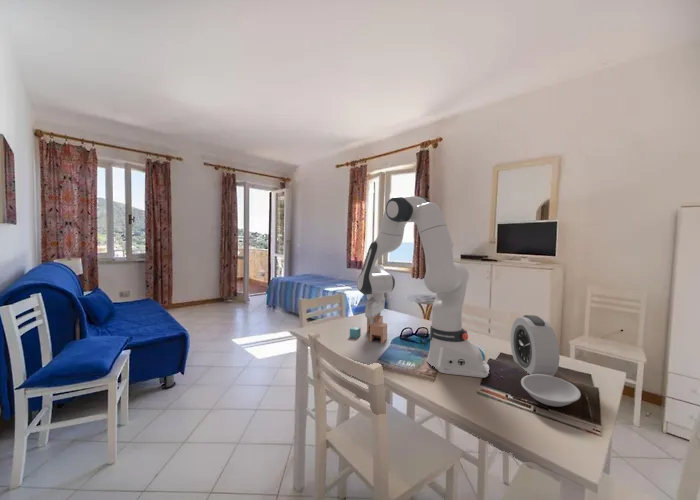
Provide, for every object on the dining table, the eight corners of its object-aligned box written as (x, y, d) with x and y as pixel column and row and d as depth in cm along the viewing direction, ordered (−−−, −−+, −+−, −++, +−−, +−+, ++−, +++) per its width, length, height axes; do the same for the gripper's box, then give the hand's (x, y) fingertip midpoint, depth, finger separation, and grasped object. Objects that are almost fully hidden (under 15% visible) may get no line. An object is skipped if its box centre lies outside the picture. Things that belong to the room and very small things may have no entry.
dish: (573, 427, 75) (574, 409, 74) (512, 404, 85) (513, 387, 85) (584, 401, 87) (585, 385, 87) (529, 383, 97) (530, 369, 97)
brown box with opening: (386, 338, 139) (387, 323, 139) (382, 343, 133) (383, 327, 133) (374, 336, 142) (374, 321, 141) (369, 341, 136) (369, 325, 136)
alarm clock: (509, 356, 120) (511, 308, 119) (529, 357, 119) (530, 309, 118) (535, 381, 99) (537, 324, 98) (558, 383, 98) (561, 325, 97)
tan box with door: (382, 330, 152) (382, 315, 152) (378, 333, 147) (378, 319, 146) (371, 328, 155) (371, 314, 155) (366, 331, 149) (367, 317, 149)
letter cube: (360, 335, 144) (360, 327, 143) (357, 338, 140) (357, 329, 140) (353, 334, 145) (353, 326, 145) (349, 336, 142) (349, 328, 141)
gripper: (374, 300, 139) (373, 328, 140) (387, 293, 158) (386, 318, 159) (362, 298, 142) (361, 326, 143) (376, 292, 161) (375, 316, 161)
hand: (375, 322), depth 151 cm, fingers open, 8 cm apart
